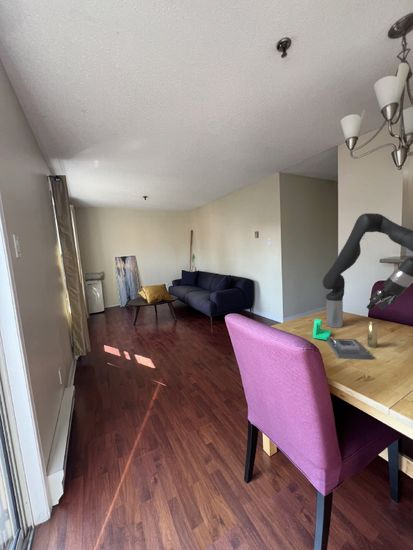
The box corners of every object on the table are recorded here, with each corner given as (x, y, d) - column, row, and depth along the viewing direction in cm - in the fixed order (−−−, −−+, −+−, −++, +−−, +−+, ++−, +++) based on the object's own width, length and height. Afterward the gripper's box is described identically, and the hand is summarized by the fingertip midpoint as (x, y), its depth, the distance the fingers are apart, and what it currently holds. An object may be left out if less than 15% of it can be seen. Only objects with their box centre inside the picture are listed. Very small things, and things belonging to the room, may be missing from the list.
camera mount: (327, 342, 126) (327, 323, 124) (312, 339, 130) (312, 321, 129) (331, 334, 135) (331, 317, 134) (317, 332, 140) (317, 316, 139)
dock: (326, 342, 125) (326, 334, 124) (355, 342, 122) (355, 334, 121) (338, 358, 107) (338, 349, 107) (372, 359, 104) (372, 349, 104)
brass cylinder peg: (365, 344, 119) (366, 320, 118) (374, 344, 118) (374, 320, 117) (369, 348, 115) (369, 323, 114) (378, 348, 114) (379, 323, 113)
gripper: (400, 276, 104) (376, 302, 112) (381, 275, 98) (357, 303, 107) (417, 286, 98) (390, 314, 107) (397, 286, 92) (371, 315, 101)
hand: (374, 308), depth 107 cm, fingers open, 8 cm apart
